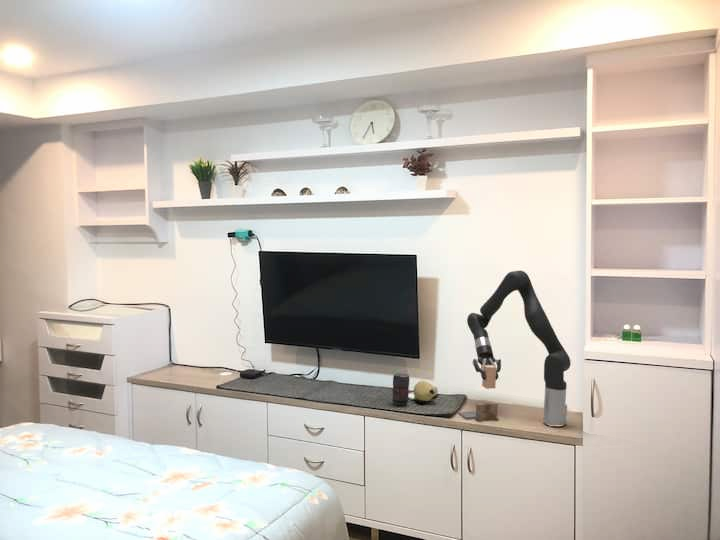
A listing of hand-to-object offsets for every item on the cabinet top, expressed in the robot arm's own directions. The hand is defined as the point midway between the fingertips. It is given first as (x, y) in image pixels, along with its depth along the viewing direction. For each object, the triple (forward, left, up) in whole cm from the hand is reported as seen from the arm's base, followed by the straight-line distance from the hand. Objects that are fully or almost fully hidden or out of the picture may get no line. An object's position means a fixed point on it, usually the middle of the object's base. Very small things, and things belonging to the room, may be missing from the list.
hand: (490, 379), depth 279 cm
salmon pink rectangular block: (0, -2, -4) cm, 5 cm away
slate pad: (+9, -1, -18) cm, 20 cm away
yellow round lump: (+22, -26, -18) cm, 38 cm away
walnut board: (+4, +5, -18) cm, 19 cm away
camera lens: (+36, -24, -18) cm, 47 cm away
